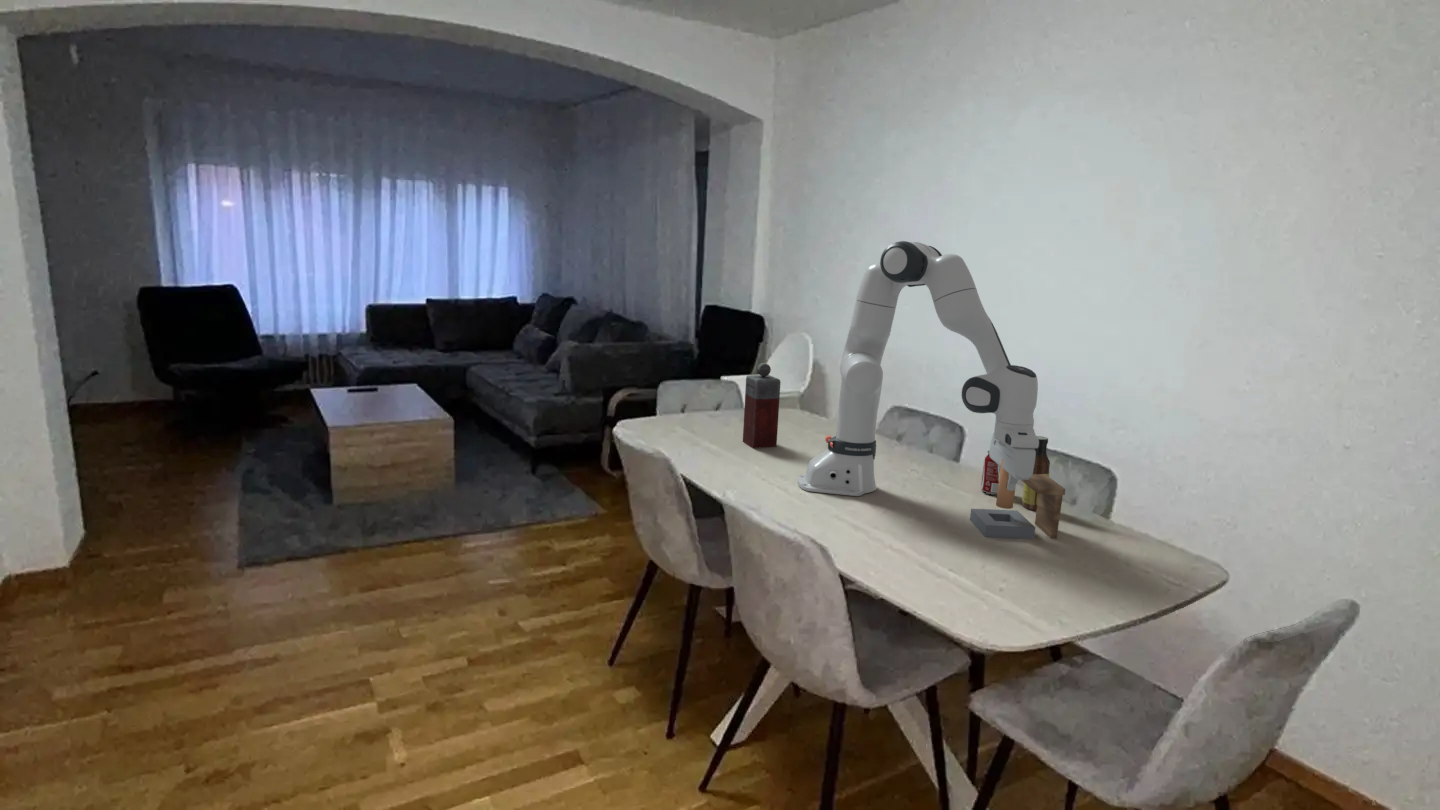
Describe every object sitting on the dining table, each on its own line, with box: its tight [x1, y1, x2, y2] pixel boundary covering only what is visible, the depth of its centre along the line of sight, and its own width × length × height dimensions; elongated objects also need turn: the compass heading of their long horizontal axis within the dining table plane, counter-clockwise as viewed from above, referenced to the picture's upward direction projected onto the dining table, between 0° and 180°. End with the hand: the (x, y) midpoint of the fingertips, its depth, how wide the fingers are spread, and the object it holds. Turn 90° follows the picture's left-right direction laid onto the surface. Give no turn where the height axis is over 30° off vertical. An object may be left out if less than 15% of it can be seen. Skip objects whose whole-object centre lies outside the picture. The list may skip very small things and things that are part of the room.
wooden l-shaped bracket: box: [1020, 474, 1066, 539], centre depth 197 cm, size 6×12×13 cm, turn 0°
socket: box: [969, 508, 1036, 540], centre depth 198 cm, size 12×12×3 cm
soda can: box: [980, 450, 999, 496], centre depth 227 cm, size 7×7×12 cm
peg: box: [995, 460, 1016, 510], centre depth 196 cm, size 4×4×12 cm
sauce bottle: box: [1021, 435, 1051, 511], centre depth 214 cm, size 7×6×20 cm
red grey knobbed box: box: [742, 362, 782, 449], centre depth 268 cm, size 9×11×28 cm
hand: (1006, 486), depth 196 cm, fingers closed on peg, 4 cm apart
